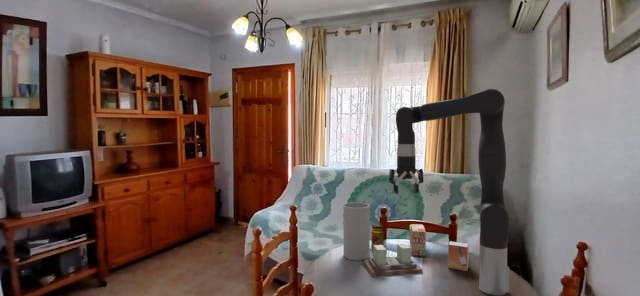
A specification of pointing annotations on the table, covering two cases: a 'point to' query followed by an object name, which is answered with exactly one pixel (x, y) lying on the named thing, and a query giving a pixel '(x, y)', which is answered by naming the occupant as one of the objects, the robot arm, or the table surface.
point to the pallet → (392, 267)
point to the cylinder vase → (356, 231)
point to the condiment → (377, 235)
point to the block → (379, 255)
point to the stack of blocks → (417, 239)
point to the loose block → (403, 254)
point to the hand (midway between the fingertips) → (406, 193)
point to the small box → (458, 255)
